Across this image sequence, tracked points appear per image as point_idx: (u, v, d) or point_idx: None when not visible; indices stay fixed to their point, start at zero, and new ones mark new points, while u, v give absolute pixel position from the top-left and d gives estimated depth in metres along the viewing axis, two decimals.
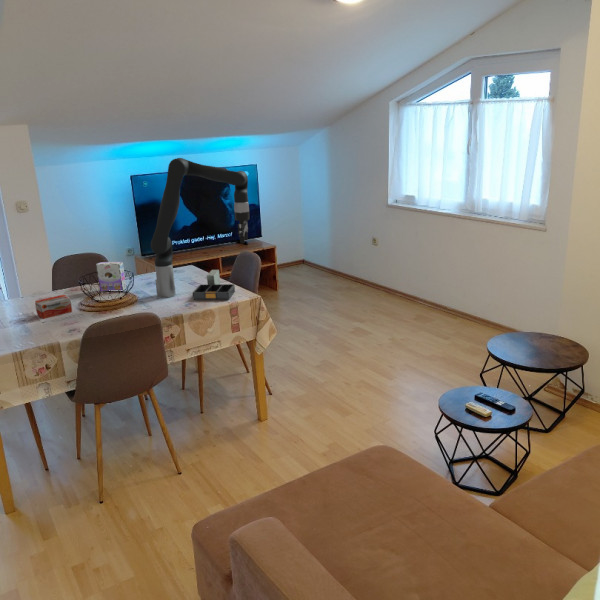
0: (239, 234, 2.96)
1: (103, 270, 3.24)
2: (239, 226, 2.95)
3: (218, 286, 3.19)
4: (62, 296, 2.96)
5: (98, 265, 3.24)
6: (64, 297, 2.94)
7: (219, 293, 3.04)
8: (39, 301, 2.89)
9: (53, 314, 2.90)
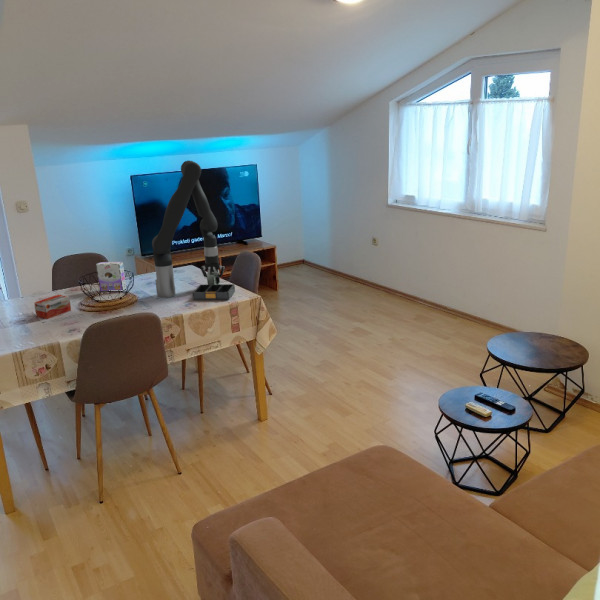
0: (221, 275, 3.25)
1: (103, 270, 3.24)
2: (223, 268, 3.24)
3: (218, 286, 3.19)
4: (59, 295, 2.97)
5: (98, 265, 3.24)
6: (62, 296, 2.96)
7: (219, 293, 3.04)
8: (39, 302, 2.88)
9: (55, 314, 2.90)
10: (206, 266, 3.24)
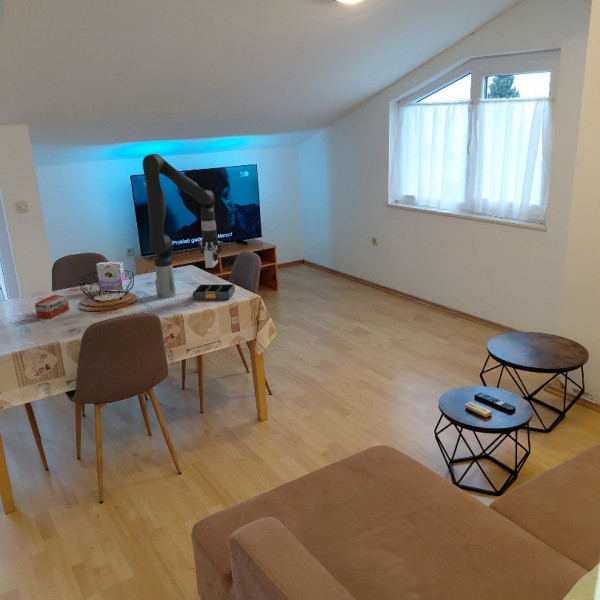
0: (220, 251, 3.06)
1: (103, 270, 3.24)
2: (222, 244, 3.05)
3: (218, 286, 3.19)
4: (56, 295, 2.97)
5: (98, 265, 3.24)
6: (61, 296, 2.96)
7: (219, 293, 3.04)
8: (41, 302, 2.87)
9: (57, 313, 2.91)
10: (203, 241, 3.05)
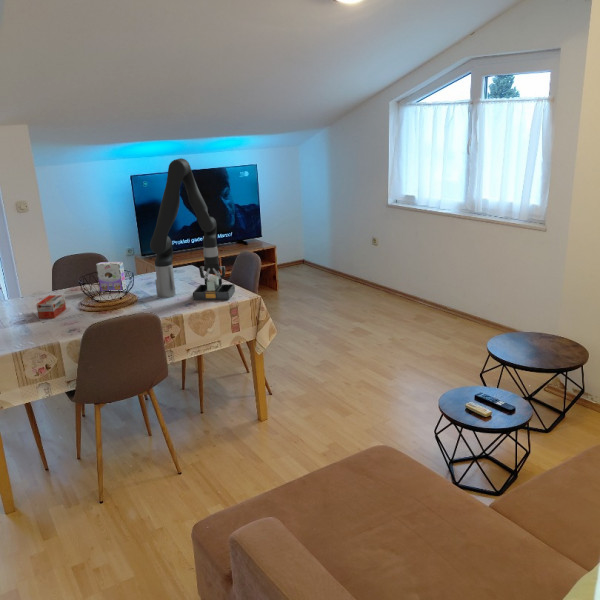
0: (224, 276, 3.08)
1: (103, 270, 3.24)
2: (224, 268, 3.07)
3: None
4: (52, 296, 2.97)
5: (98, 265, 3.24)
6: (58, 296, 2.97)
7: (219, 293, 3.04)
8: (42, 303, 2.86)
9: (58, 313, 2.92)
10: (205, 267, 3.08)
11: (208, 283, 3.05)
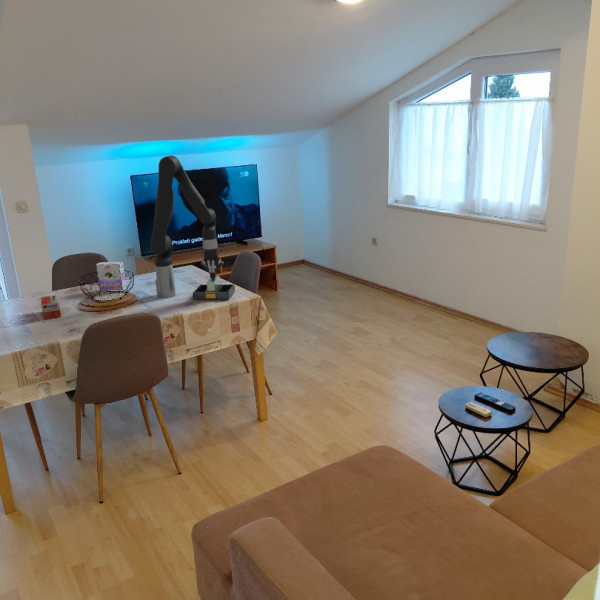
0: (217, 270, 3.08)
1: (103, 270, 3.24)
2: None
3: None
4: (46, 297, 2.96)
5: (98, 265, 3.24)
6: (52, 296, 2.97)
7: (219, 293, 3.04)
8: (47, 303, 2.86)
9: None
10: (205, 260, 3.06)
11: (208, 283, 3.05)
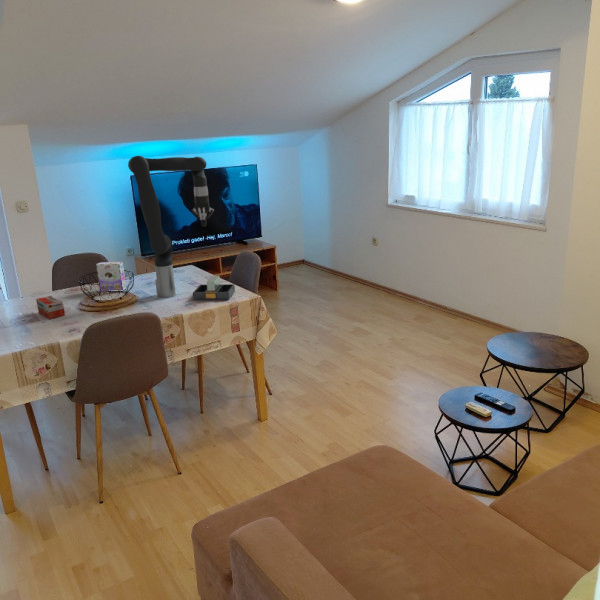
0: (208, 217, 3.16)
1: (103, 270, 3.24)
2: (212, 211, 3.15)
3: None
4: (41, 298, 2.94)
5: (98, 265, 3.24)
6: (48, 297, 2.96)
7: (219, 293, 3.04)
8: (51, 302, 2.86)
9: None
10: (196, 207, 3.15)
11: (208, 283, 3.05)
